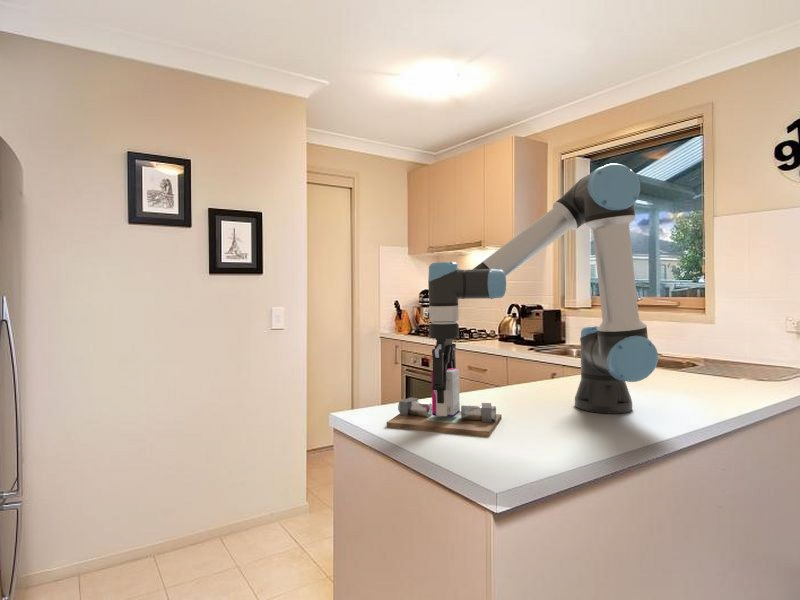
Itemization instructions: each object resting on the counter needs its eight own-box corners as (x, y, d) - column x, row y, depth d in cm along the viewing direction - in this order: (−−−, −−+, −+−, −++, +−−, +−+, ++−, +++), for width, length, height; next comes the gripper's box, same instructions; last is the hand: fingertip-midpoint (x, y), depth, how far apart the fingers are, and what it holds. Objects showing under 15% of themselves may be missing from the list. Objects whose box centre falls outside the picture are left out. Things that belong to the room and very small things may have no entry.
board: (501, 419, 130) (501, 413, 130) (489, 436, 115) (489, 430, 115) (408, 411, 140) (408, 406, 140) (386, 427, 125) (386, 421, 125)
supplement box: (460, 411, 129) (459, 367, 128) (453, 417, 124) (452, 372, 123) (439, 409, 131) (438, 366, 131) (431, 415, 126) (430, 371, 125)
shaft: (434, 414, 131) (434, 400, 131) (424, 419, 127) (424, 404, 127) (407, 410, 136) (406, 396, 136) (396, 415, 132) (396, 400, 132)
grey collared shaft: (495, 417, 127) (495, 403, 127) (496, 423, 122) (496, 408, 122) (462, 416, 129) (461, 402, 128) (461, 422, 123) (460, 407, 123)
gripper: (440, 319, 137) (442, 403, 138) (417, 325, 119) (419, 420, 120) (467, 320, 134) (468, 404, 135) (447, 325, 117) (449, 423, 117)
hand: (445, 412), depth 127 cm, fingers closed on supplement box, 6 cm apart
